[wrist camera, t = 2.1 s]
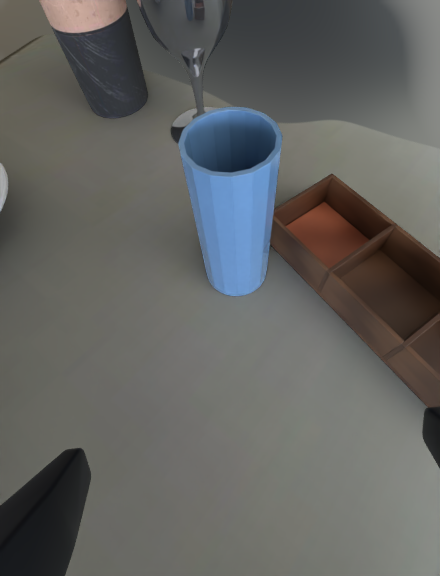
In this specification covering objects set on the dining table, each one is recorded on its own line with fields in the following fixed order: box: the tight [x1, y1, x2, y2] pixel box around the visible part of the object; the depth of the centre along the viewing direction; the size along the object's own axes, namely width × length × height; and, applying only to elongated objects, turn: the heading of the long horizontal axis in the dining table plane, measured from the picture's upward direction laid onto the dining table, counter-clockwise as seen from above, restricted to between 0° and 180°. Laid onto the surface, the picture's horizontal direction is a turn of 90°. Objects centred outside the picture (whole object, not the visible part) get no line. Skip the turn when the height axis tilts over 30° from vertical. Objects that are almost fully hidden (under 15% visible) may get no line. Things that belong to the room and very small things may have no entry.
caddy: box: [270, 174, 440, 408], centre depth 23 cm, size 20×7×3 cm, turn 35°
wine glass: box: [137, 0, 232, 143], centre depth 28 cm, size 8×8×15 cm
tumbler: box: [178, 107, 283, 296], centre depth 21 cm, size 5×5×12 cm
